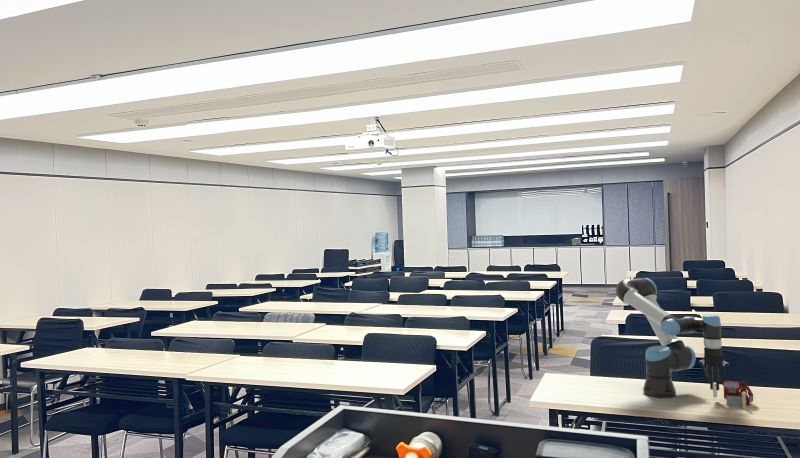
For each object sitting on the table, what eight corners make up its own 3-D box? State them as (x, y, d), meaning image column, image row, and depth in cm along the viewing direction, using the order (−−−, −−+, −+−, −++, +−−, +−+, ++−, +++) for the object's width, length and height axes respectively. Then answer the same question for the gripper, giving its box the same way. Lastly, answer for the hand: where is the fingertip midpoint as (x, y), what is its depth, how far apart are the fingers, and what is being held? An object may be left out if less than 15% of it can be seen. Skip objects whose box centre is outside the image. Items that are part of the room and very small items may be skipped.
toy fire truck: (754, 406, 261) (753, 384, 261) (723, 404, 266) (723, 382, 267) (752, 402, 268) (751, 380, 268) (722, 400, 273) (721, 378, 273)
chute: (726, 406, 263) (726, 391, 263) (728, 398, 276) (727, 384, 276) (746, 408, 259) (745, 393, 259) (746, 400, 272) (746, 385, 272)
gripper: (696, 347, 273) (699, 397, 272) (727, 349, 266) (730, 400, 265) (698, 345, 279) (700, 393, 278) (728, 347, 272) (731, 396, 271)
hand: (715, 396), depth 272 cm, fingers closed
